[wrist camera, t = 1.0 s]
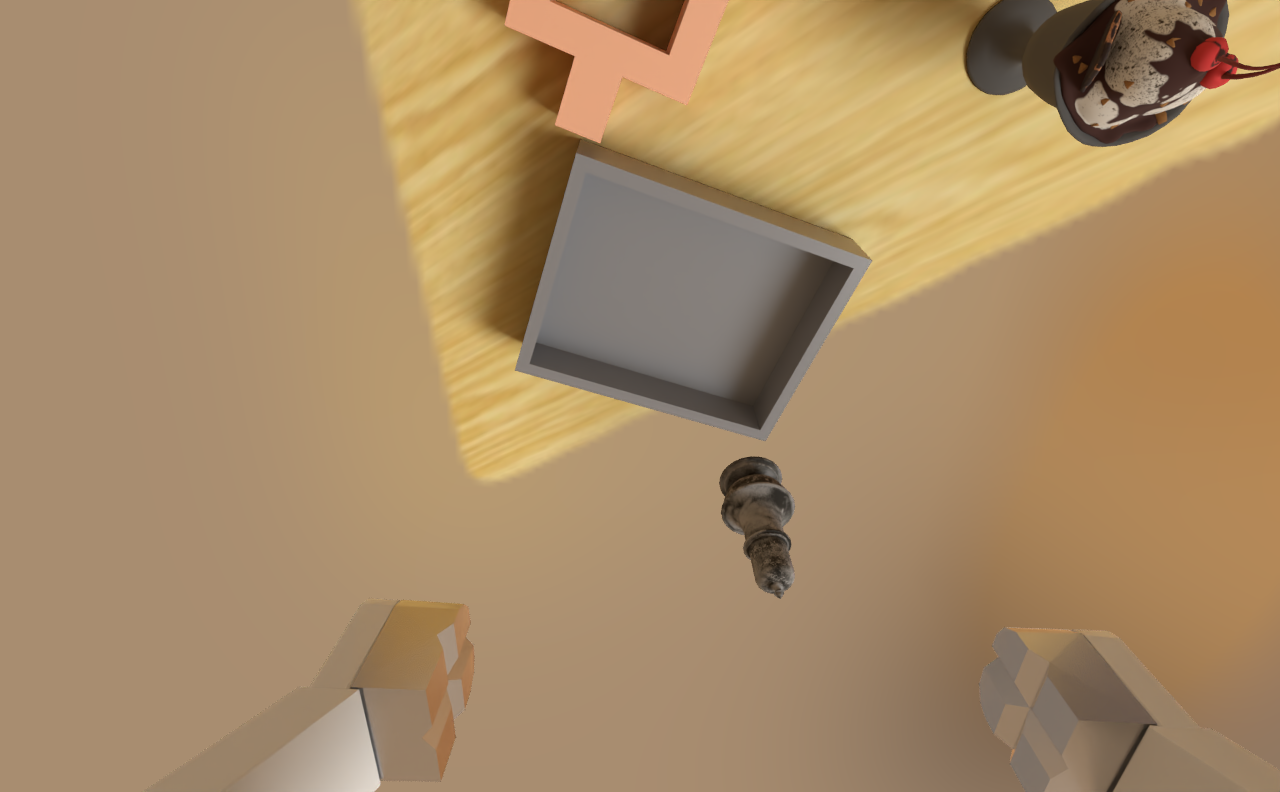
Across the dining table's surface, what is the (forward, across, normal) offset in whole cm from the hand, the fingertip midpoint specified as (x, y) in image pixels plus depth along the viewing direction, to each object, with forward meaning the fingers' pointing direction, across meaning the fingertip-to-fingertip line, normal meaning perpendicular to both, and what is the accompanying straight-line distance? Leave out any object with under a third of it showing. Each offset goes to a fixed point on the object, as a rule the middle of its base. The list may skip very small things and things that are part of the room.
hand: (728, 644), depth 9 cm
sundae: (+33, -18, -12) cm, 39 cm away
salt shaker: (+37, -8, +20) cm, 43 cm away
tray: (+34, 0, +3) cm, 34 cm away
